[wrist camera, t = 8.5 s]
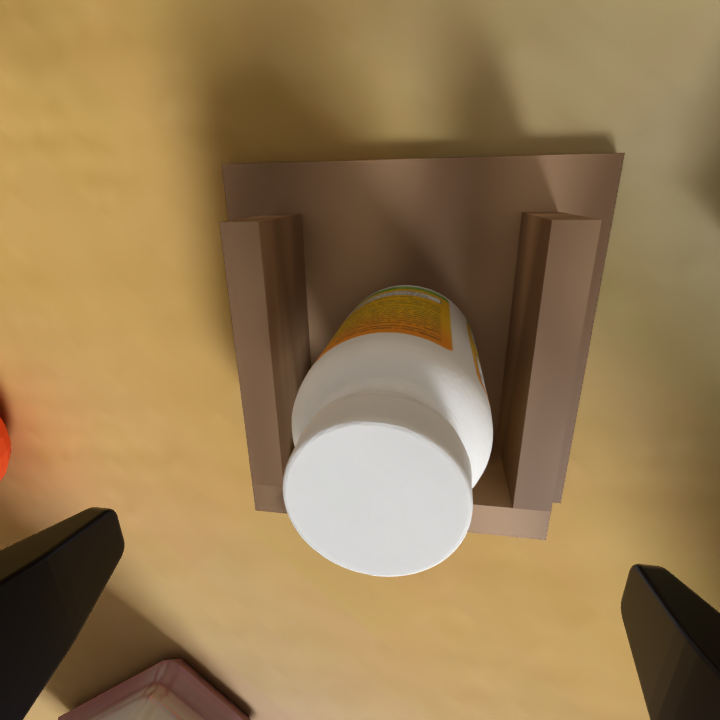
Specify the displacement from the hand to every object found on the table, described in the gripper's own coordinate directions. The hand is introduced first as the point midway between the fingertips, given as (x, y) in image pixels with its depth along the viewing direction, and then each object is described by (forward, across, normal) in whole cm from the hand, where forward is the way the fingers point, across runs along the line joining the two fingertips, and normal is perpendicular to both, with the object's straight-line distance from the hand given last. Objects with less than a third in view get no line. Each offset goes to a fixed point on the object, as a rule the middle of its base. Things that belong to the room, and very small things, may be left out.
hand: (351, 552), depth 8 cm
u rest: (+12, 0, 0) cm, 12 cm away
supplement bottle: (+11, 0, 0) cm, 11 cm away
